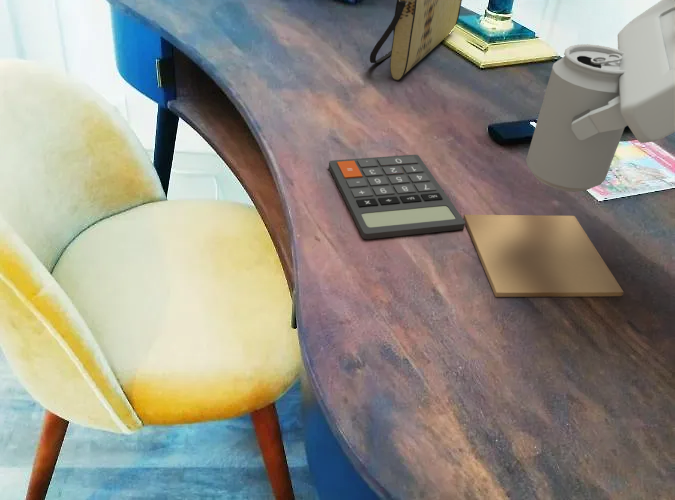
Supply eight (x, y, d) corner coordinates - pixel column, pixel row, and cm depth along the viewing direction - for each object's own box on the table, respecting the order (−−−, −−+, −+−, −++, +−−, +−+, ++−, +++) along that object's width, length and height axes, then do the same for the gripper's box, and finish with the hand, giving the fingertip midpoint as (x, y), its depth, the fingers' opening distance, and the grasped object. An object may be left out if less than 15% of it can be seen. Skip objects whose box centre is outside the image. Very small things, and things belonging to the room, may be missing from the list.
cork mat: (573, 219, 74) (574, 215, 74) (621, 296, 64) (624, 292, 64) (462, 218, 73) (464, 214, 72) (495, 297, 62) (496, 292, 62)
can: (513, 155, 65) (545, 37, 58) (583, 156, 66) (623, 40, 59) (539, 196, 59) (578, 71, 52) (616, 197, 60) (665, 73, 53)
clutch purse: (423, 25, 123) (436, -61, 113) (458, 33, 120) (475, -53, 111) (357, 77, 101) (367, -23, 92) (398, 88, 99) (413, -13, 90)
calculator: (418, 152, 81) (466, 222, 70) (416, 159, 82) (465, 228, 71) (328, 159, 78) (364, 232, 67) (328, 165, 79) (363, 239, 68)
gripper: (786, 105, 44) (591, 193, 52) (739, 17, 59) (595, 95, 67) (745, 27, 42) (550, 131, 50) (708, -42, 57) (564, 45, 65)
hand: (576, 110), depth 59 cm, fingers closed on can, 7 cm apart
